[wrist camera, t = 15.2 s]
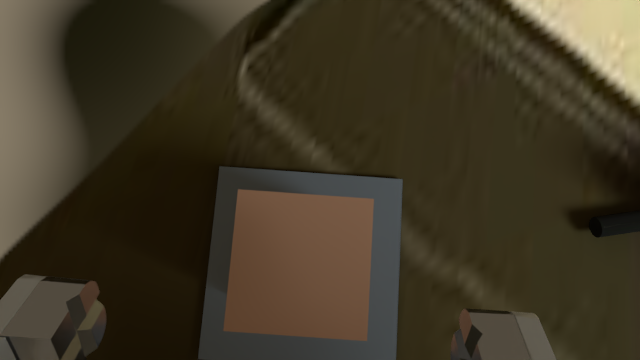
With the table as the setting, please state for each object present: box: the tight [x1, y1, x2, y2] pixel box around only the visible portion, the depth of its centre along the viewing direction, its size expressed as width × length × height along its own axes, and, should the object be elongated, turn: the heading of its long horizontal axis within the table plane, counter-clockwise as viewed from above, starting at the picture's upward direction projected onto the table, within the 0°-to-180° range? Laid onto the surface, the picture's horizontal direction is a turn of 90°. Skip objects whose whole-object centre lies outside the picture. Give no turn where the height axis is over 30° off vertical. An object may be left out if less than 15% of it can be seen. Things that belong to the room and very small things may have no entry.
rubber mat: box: [198, 166, 403, 360], centre depth 30 cm, size 12×12×1 cm
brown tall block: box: [223, 189, 374, 341], centre depth 24 cm, size 6×6×11 cm
